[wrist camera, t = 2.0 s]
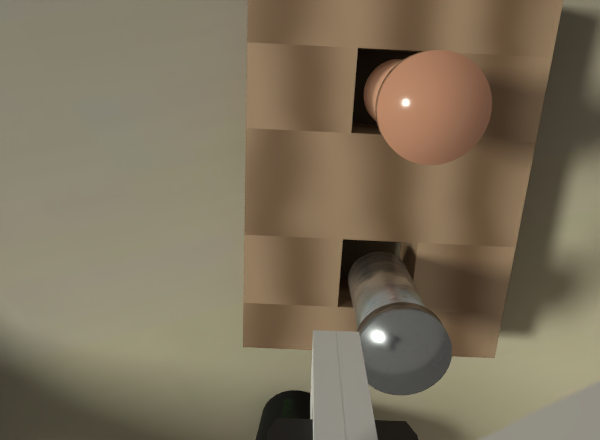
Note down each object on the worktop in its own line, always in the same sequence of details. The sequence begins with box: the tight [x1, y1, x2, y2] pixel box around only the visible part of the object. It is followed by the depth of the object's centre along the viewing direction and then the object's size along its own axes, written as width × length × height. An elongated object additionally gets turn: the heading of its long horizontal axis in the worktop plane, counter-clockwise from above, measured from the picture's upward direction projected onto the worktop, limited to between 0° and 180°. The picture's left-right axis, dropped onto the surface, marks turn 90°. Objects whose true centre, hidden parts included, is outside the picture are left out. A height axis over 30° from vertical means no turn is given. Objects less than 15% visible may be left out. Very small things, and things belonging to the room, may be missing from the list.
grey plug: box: [348, 251, 452, 395], centre depth 29 cm, size 5×5×9 cm
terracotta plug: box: [364, 50, 492, 165], centre depth 26 cm, size 5×5×9 cm
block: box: [243, 0, 563, 358], centre depth 35 cm, size 18×24×5 cm
